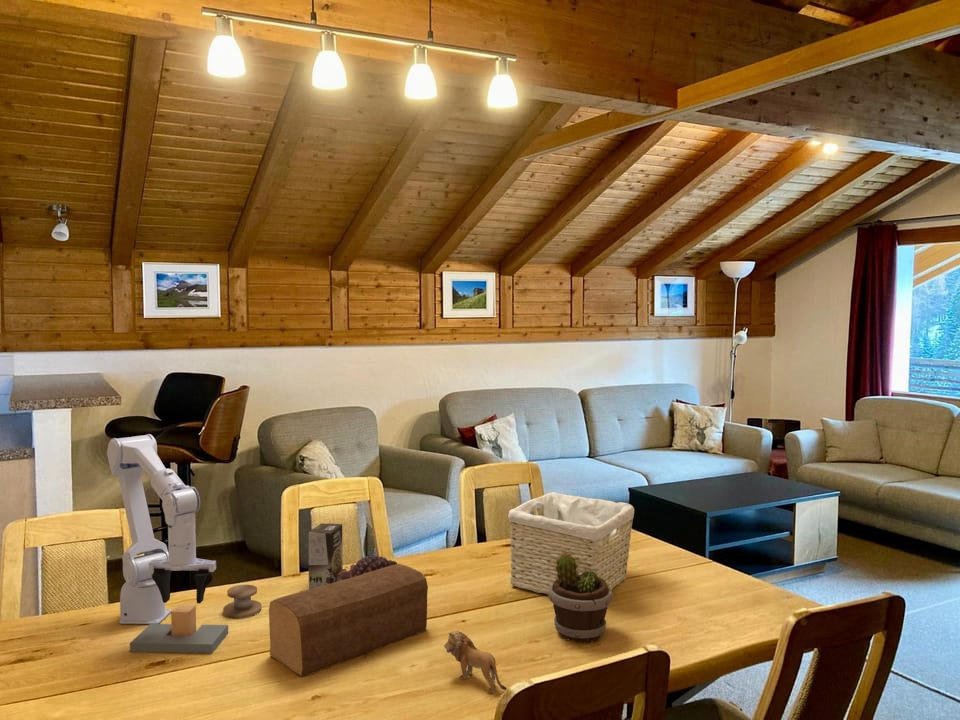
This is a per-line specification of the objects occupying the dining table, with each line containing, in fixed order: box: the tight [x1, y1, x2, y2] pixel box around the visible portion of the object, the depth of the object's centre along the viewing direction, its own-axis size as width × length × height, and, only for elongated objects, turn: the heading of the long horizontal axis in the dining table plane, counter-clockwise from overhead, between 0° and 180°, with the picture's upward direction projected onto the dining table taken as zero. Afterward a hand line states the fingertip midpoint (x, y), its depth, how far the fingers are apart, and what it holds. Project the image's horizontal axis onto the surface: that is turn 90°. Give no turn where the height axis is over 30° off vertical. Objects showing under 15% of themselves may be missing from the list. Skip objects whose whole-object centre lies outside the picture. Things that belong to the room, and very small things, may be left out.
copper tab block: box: [170, 604, 197, 636], centre depth 173 cm, size 4×4×7 cm
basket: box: [507, 491, 635, 595], centre depth 208 cm, size 27×27×22 cm
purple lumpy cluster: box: [337, 554, 398, 580], centre depth 201 cm, size 18×10×10 cm, turn 109°
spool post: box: [222, 584, 262, 619], centre depth 189 cm, size 9×9×5 cm
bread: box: [268, 563, 429, 677], centre depth 171 cm, size 14×34×14 cm, turn 134°
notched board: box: [129, 623, 229, 654], centre depth 171 cm, size 18×10×2 cm, turn 89°
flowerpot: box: [548, 548, 613, 643], centre depth 177 cm, size 14×15×20 cm
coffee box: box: [308, 522, 344, 590], centre depth 205 cm, size 9×6×16 cm
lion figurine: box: [443, 630, 508, 694], centre depth 154 cm, size 15×5×9 cm, turn 55°
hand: (183, 601), depth 173 cm, fingers open, 7 cm apart
